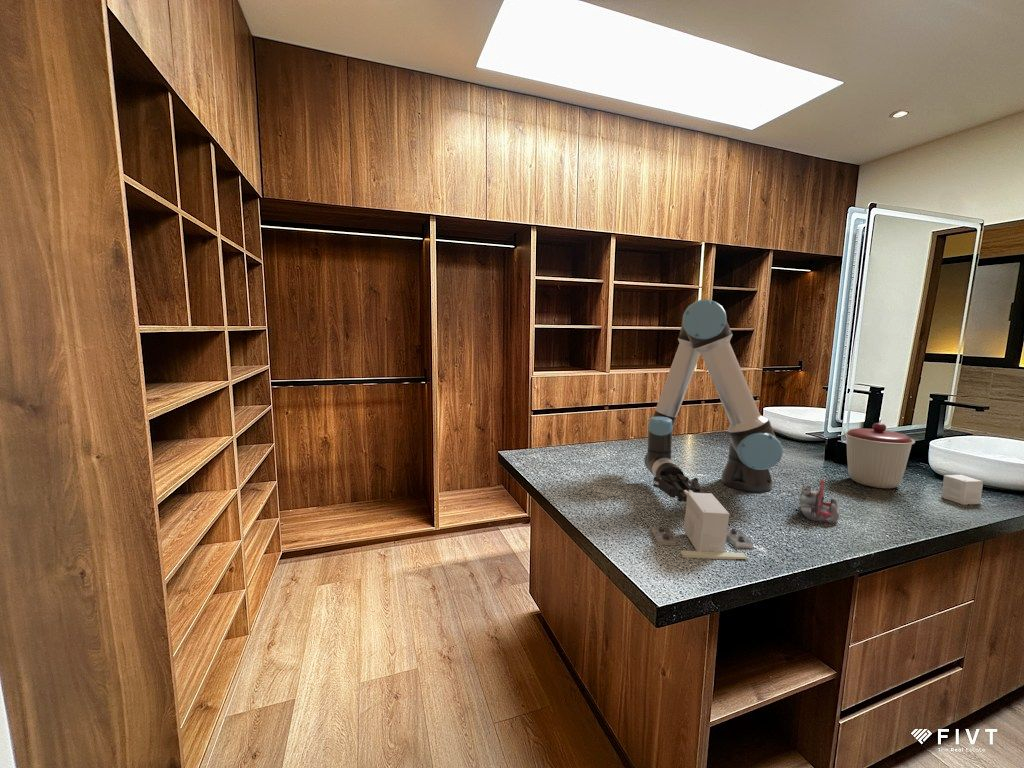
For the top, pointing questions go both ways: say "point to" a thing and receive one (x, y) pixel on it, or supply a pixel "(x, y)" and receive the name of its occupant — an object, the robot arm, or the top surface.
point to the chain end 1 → (663, 536)
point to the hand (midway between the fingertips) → (696, 504)
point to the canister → (877, 456)
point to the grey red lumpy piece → (818, 505)
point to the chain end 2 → (738, 539)
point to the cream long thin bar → (713, 555)
